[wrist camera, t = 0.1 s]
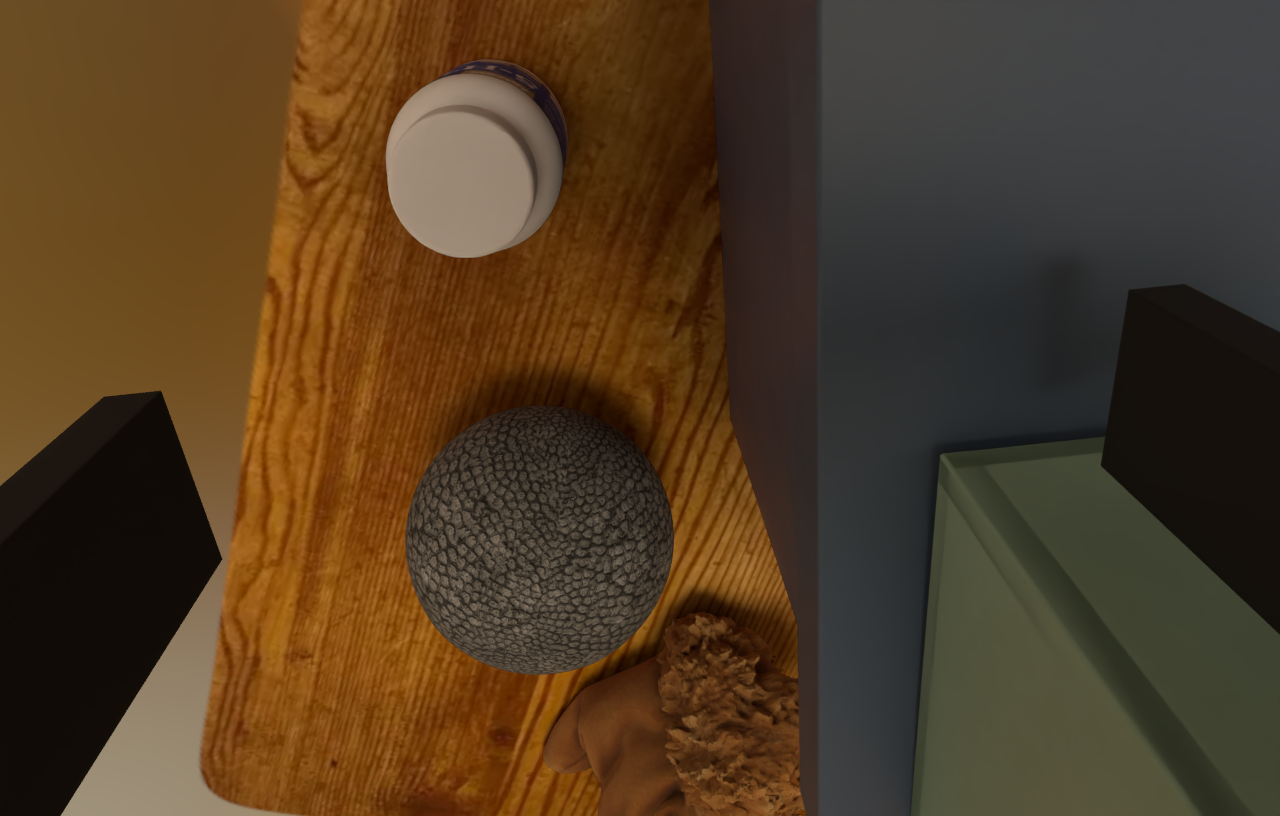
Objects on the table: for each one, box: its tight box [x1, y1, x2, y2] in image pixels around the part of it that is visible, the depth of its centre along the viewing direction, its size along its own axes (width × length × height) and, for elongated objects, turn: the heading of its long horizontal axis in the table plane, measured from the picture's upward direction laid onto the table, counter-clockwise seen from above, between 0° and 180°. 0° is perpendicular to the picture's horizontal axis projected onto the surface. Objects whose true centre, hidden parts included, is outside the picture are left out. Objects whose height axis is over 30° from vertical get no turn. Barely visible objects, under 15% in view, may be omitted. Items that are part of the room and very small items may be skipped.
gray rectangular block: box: [709, 0, 1280, 816], centre depth 23 cm, size 25×14×20 cm, turn 5°
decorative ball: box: [406, 405, 674, 674], centre depth 33 cm, size 10×10×10 cm
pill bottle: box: [386, 59, 568, 258], centre depth 28 cm, size 5×5×9 cm
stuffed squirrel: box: [543, 612, 805, 816], centre depth 38 cm, size 10×14×13 cm
